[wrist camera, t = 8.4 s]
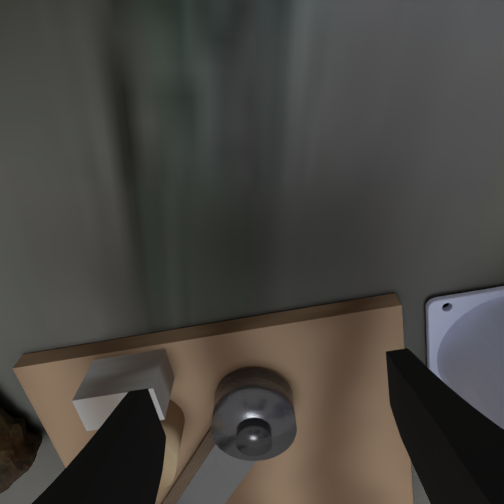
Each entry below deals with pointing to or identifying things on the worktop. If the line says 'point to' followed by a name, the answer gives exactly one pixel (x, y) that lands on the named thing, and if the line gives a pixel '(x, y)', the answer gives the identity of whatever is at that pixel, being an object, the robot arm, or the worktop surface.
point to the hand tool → (15, 449)
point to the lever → (238, 436)
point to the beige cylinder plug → (171, 442)
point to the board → (245, 357)
